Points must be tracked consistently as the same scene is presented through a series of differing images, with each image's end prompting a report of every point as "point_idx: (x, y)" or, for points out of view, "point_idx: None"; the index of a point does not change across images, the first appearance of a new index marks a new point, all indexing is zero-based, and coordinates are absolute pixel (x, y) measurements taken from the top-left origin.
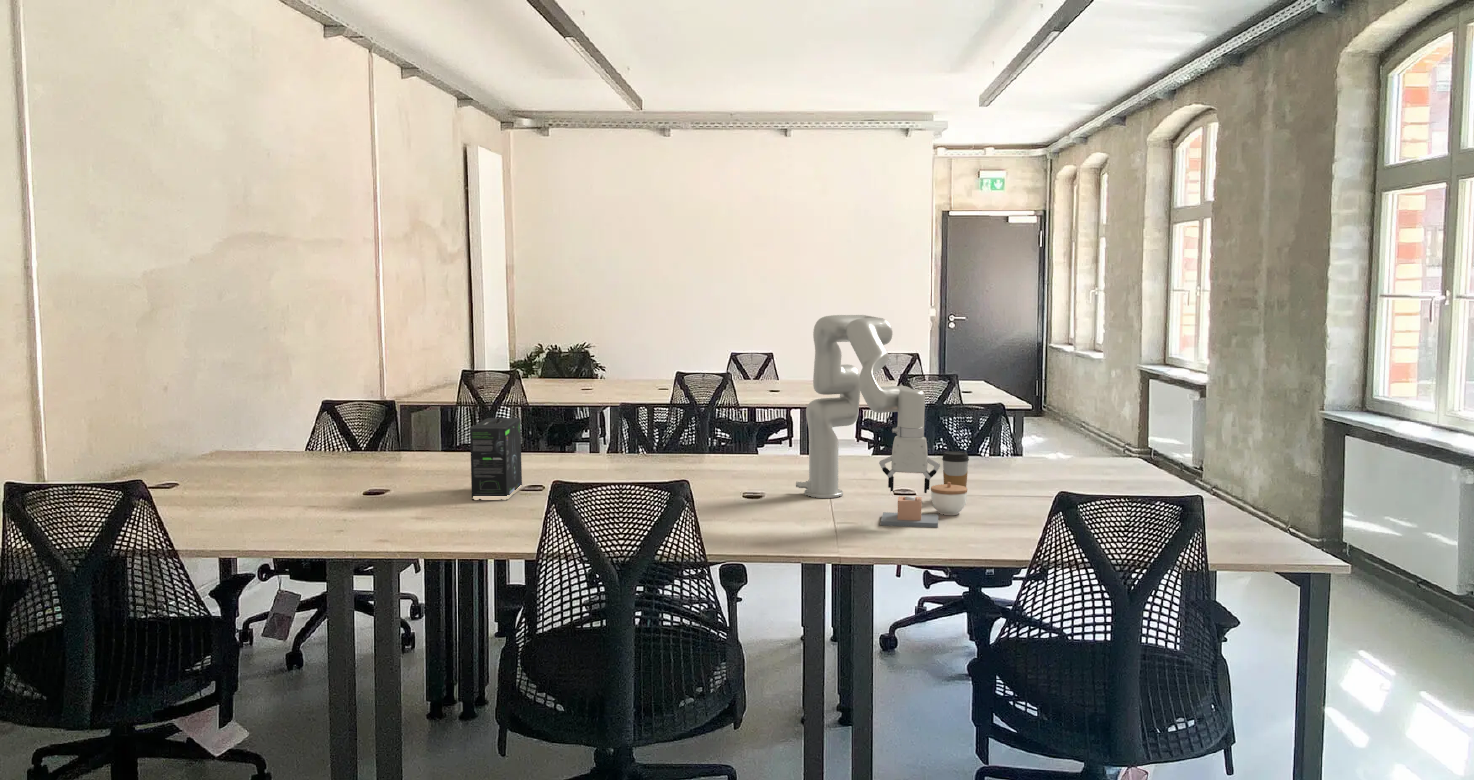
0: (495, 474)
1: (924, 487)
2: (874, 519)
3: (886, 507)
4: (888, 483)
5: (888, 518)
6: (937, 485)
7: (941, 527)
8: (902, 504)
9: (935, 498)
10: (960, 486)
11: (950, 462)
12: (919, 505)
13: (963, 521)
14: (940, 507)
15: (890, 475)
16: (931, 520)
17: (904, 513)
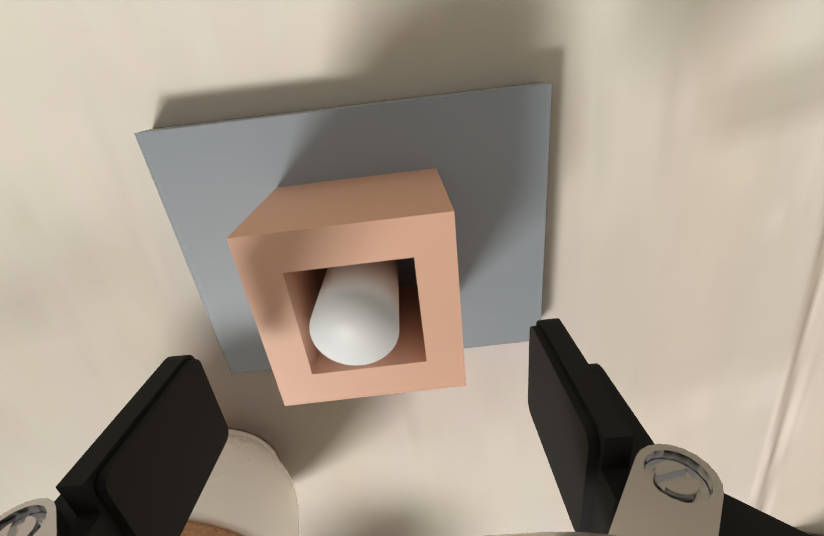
0: None
1: (164, 396)
2: (581, 243)
3: (523, 480)
4: (616, 390)
5: (500, 188)
6: None
7: (132, 141)
8: (406, 206)
9: (251, 497)
10: None
11: None
12: (254, 223)
13: (86, 332)
14: (236, 448)
15: (659, 481)
16: (211, 211)
17: (388, 185)
